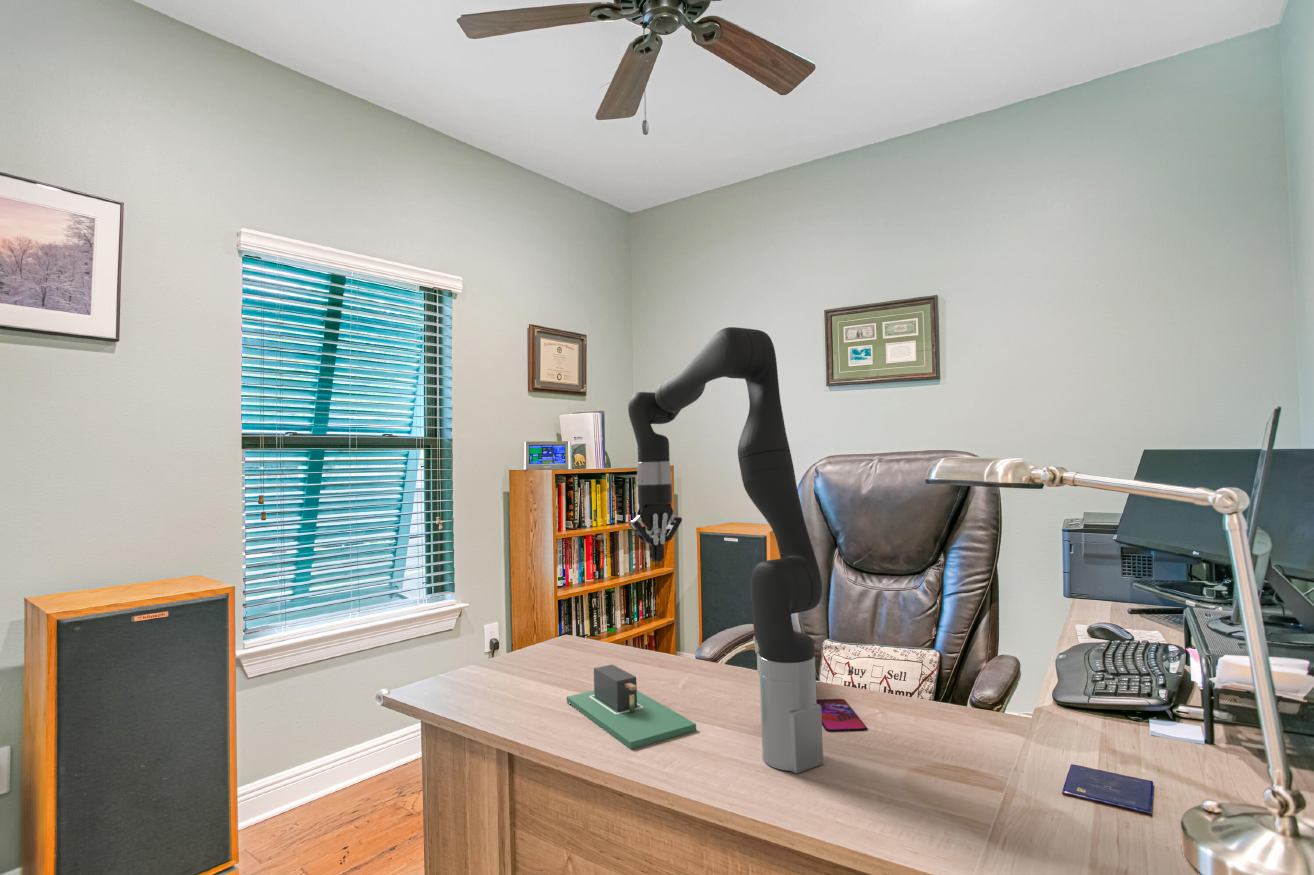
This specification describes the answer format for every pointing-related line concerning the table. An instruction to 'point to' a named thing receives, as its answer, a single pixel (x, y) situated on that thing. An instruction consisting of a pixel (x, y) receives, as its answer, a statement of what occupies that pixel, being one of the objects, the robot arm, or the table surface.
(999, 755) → the table surface
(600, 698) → the plug housing
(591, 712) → the header board
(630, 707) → the header pins
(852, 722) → the smartphone
